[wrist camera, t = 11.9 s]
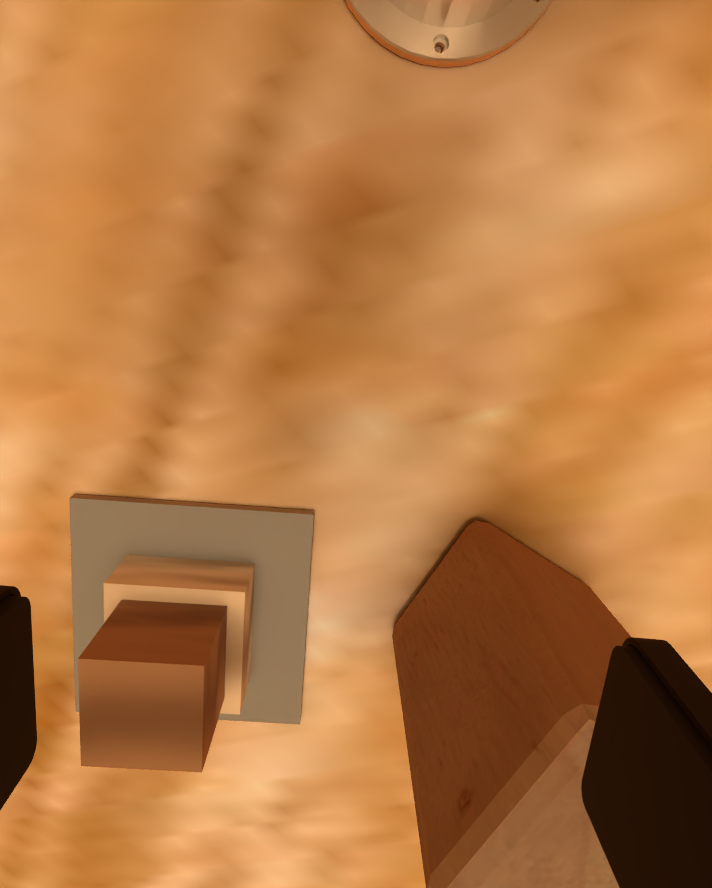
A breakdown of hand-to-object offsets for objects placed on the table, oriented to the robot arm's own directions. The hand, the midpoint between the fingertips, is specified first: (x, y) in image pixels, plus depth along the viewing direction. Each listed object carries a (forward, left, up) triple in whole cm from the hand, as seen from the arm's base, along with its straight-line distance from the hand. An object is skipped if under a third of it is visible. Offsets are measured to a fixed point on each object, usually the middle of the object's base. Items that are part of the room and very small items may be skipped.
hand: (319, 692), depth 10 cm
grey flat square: (+15, -9, -29) cm, 34 cm away
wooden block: (+13, +11, -29) cm, 34 cm away
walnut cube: (+15, -9, -24) cm, 29 cm away
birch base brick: (+15, -9, -28) cm, 33 cm away
